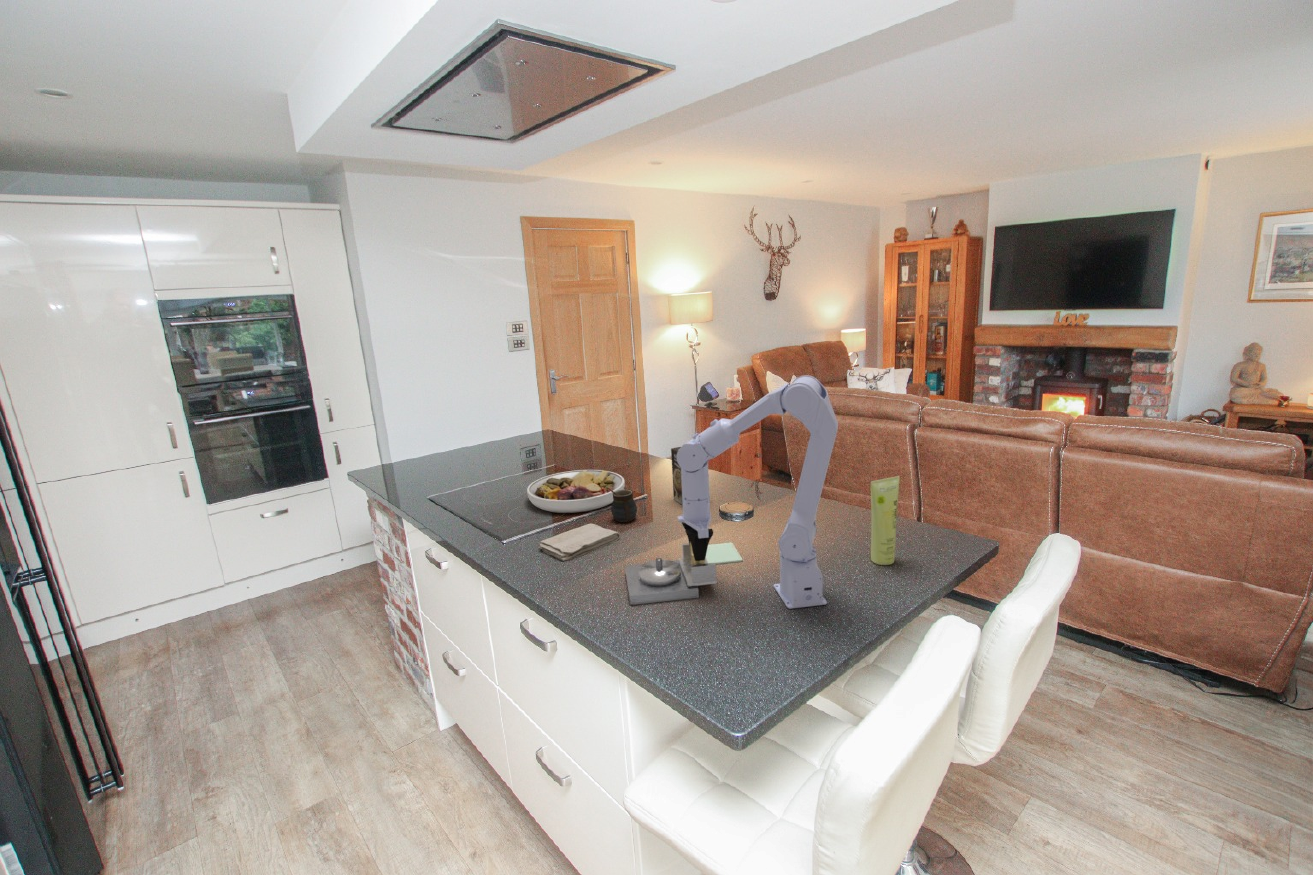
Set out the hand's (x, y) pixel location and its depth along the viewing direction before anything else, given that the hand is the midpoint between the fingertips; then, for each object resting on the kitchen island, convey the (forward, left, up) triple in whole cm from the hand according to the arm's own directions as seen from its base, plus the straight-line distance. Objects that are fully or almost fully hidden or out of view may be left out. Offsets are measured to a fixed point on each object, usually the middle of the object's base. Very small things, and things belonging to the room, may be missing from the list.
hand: (698, 556), depth 128 cm
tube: (0, -42, -6) cm, 42 cm away
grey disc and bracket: (0, +5, -3) cm, 6 cm away
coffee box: (+49, -7, -6) cm, 50 cm away
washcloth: (+26, +26, -6) cm, 37 cm away
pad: (+12, -7, -6) cm, 15 cm away
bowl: (+62, +27, -6) cm, 68 cm away
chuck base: (0, +8, -6) cm, 10 cm away
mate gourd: (+40, +13, -6) cm, 43 cm away
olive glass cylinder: (0, 0, -2) cm, 2 cm away
